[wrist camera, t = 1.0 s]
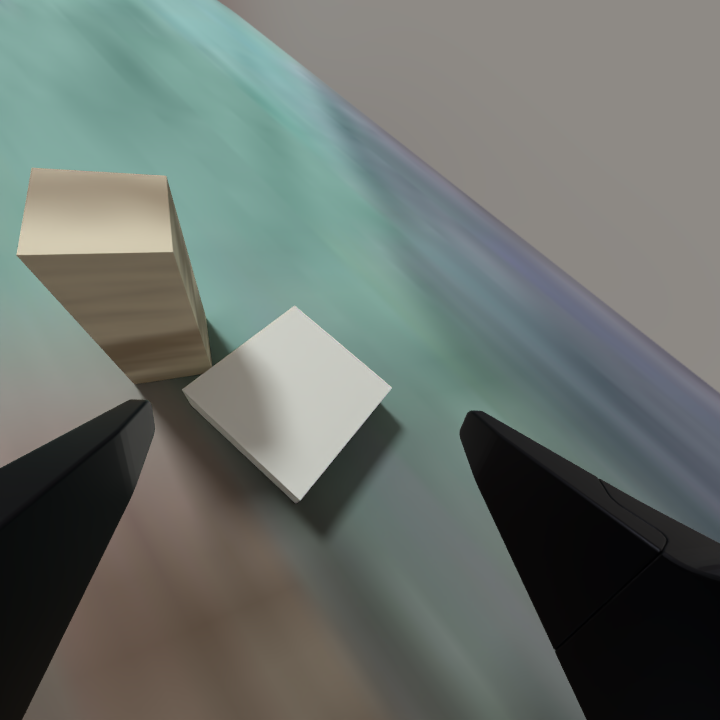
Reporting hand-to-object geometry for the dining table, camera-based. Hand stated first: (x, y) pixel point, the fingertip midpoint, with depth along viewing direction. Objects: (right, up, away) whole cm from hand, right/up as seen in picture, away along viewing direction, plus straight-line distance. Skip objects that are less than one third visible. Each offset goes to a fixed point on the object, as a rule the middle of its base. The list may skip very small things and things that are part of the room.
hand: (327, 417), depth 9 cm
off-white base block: (-4, -2, +15) cm, 16 cm away
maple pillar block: (-13, +3, +14) cm, 20 cm away
